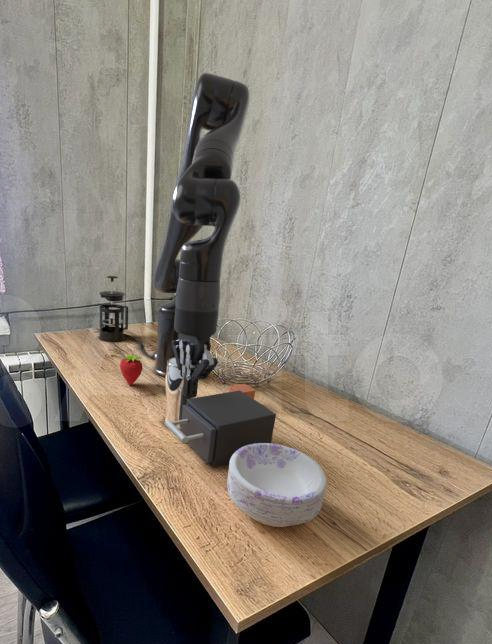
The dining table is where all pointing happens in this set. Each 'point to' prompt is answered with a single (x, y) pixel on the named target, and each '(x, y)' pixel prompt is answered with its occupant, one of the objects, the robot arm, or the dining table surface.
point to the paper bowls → (276, 484)
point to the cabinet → (234, 422)
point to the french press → (109, 330)
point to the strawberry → (131, 368)
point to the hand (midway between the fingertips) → (189, 396)
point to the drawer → (195, 432)
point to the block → (243, 389)
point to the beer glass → (174, 392)
